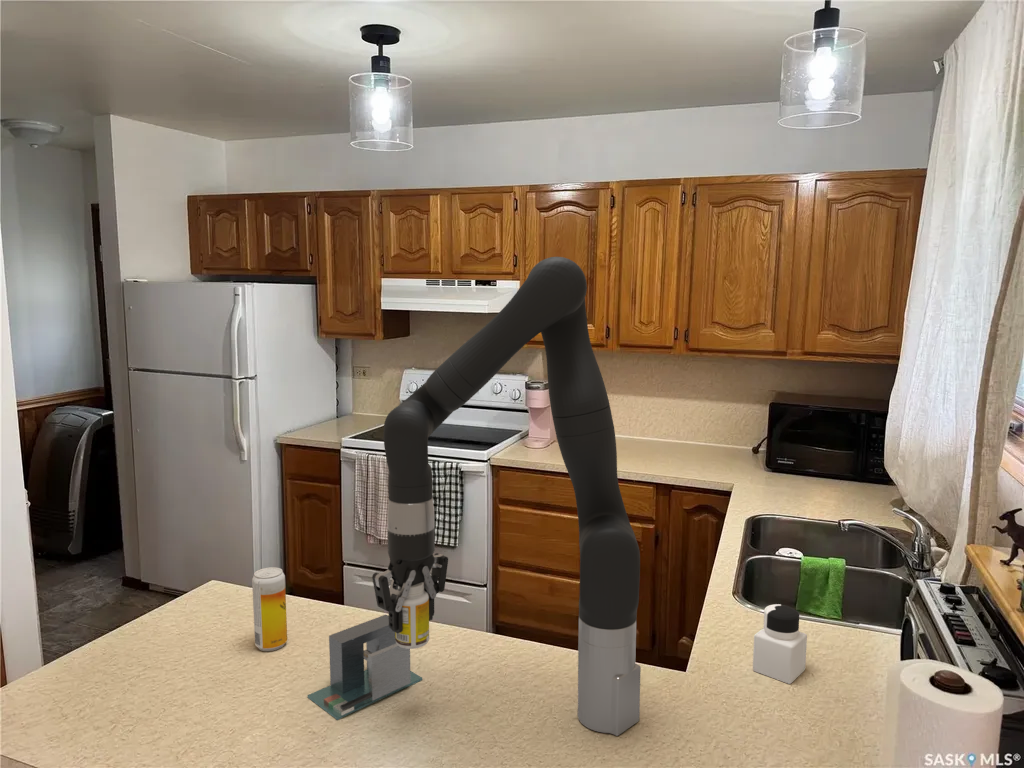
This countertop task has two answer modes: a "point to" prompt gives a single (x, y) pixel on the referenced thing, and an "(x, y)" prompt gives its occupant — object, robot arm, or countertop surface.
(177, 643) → the countertop surface
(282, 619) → the beer can
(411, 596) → the supplement bottle
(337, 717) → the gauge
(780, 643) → the medicine bottle
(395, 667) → the grey plate with rod
